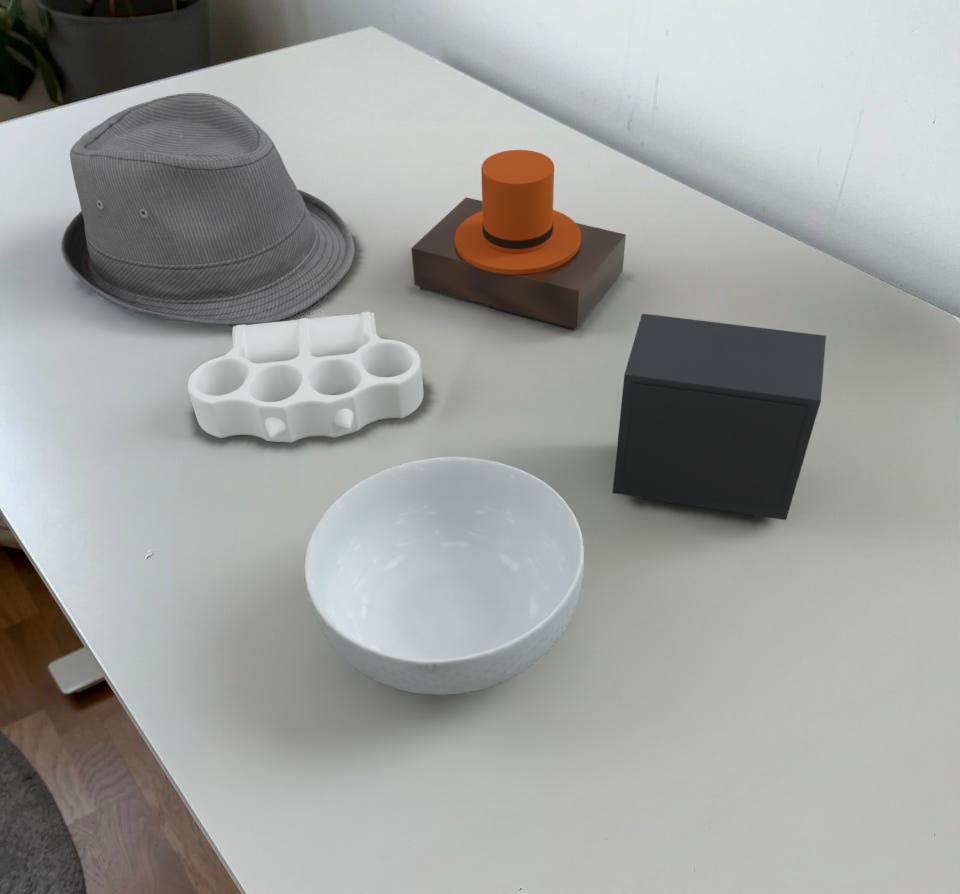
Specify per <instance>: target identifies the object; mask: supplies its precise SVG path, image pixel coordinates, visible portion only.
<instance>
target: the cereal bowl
mask: <svg viewBox="0 0 960 894" xmlns="http://www.w3.org/2000/svg"><path fill="white" fill-rule="evenodd" d="M584 545H585V544H584V537H583V533H582V530H581V527H580V524H579V522H578V519H577V518H576V515H575V513H574V512H573V511H572V509H571V507H570V505H569V504H568V503H567V502H566V501H565V499H564V498H563V497H562V496H561V495H560V494H559V492H557V490H555V489H554V488H553V487H551V485H549V484H547V483H546V482H545V481H543V480H542V479H540V478H538V477H537V476H535V475H532V474H531V473H529V472H527V471H526V470H523V469H520V468H517V467H514V466H512V465H510V464H505V463H502V462H498V461H495V460H494V461H493V460H489V459H483V458H476V457H475V458H474V457H466V456H440V457H432V458H425V459H419V460H413V461H409V462H405V463H402V464H398V465H395V466H392V467H389V468H386V469H384V470H381V471H379V472H377V473H375V474H372V475H370V476H368V477H366V478H364V479H363V480H361V481H360V482H358V483H356V484H355V485H353V486H352V487H350V488H349V489H348V490H346V491H345V492H343V494H341V495H340V496H339V497H338V498H337V499H336V500H335V501H334V502H333V503H332V504H331V505H330V506H329V507H328V508H327V509H326V510H325V512H324V513H323V514H322V516H321V517H320V518H319V520H318V521H317V523H316V524H315V526H314V528H313V530H312V533H311V535H310V536H309V540H308V543H307V546H306V550H305V555H304V563H303V574H304V575H303V577H304V584H305V590H306V594H307V597H308V599H309V600H308V601H309V604H310V606H311V608H312V611H313V615H314V617H315V619H316V621H317V624H318V626H319V627H320V629H321V631H322V632H323V634H324V636H325V637H326V639H327V640H328V642H329V644H330V645H331V646H332V647H333V648H334V650H336V652H338V655H340V657H342V658H343V659H344V660H345V661H346V662H347V663H348V664H349V665H351V666H353V668H355V670H357V671H358V672H360V673H362V674H364V675H365V676H366V677H368V678H371V679H372V680H374V681H376V682H378V683H379V684H384V685H386V686H388V687H391V688H393V689H397V690H402V691H404V692H410V693H415V694H423V695H438V696H440V695H444V696H445V695H446V696H448V695H451V694H452V695H457V694H465V693H472V692H475V691H480V690H483V689H487V688H491V687H494V686H495V685H498V684H502V683H504V682H506V681H508V680H510V679H512V678H513V677H516V676H518V675H519V674H521V673H523V672H524V671H526V670H527V669H529V668H530V667H532V665H534V664H536V663H537V662H538V661H539V660H540V659H541V658H543V657H544V656H545V655H546V654H548V652H549V651H550V650H551V649H552V648H553V647H554V646H555V644H556V643H557V642H558V640H559V639H561V637H562V636H563V634H564V632H565V630H567V628H568V626H569V624H570V621H571V619H572V618H573V616H574V614H575V611H576V609H577V606H578V602H579V599H580V597H581V589H582V586H583V580H584V579H583V578H584V575H585V569H584V567H585V546H584Z"/></svg>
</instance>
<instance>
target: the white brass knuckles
mask: <svg viewBox="0 0 960 894" xmlns="http://www.w3.org/2000/svg"><path fill="white" fill-rule="evenodd" d="M231 333H232V334H231V337H232V338H231V339H232V340H231V341H232V348H231V349H230V350H229V351H227V353H226V354H224V355H222V356H218V357H215V358H212V359H209V360H208V361H205V362H203V363H202V364H201V365H199V366H197V368H196V369H194V371H193V372H192V373H191V374H190V376H189V378H188V381H187V392H188V395H189V398H190V401H191V404H192V408H193V410H194V411H193V412H194V414H195V417H196V420H197V423H198V425H199V427H200V428H201V429H202V431H204V433H206V434H209V435H210V436H213V437H215V438H220V439H224V438H228V437H232V436H245V435H246V436H254V437H258V438H261V439H263V440H265V441H266V442H277V443H291V444H292V443H293V442H296V441H299V440H301V439H305V438H310V437H311V438H312V437H328V438H329V437H330V438H334V439H337V438H339V437H342V436H346V435H349V434H350V435H351V434H352V433H356V432H359V431H360V430H361V429H363V428H364V427H366V426H367V425H369V424H371V423H374V422H377V421H380V420H386V419H404V418H406V417H408V416H409V415H411V414H413V413H414V412H415V411H416V410H417V409H418V408H419V407H420V406H421V404H422V403H423V399H424V393H425V391H424V381H423V380H424V379H423V369H422V360H421V357H420V355H419V353H418V351H417V350H416V349H415V348H414V347H412V346H411V345H409V344H407V343H405V342H402V341H400V340H395V339H394V340H393V339H387V338H386V339H385V338H382V337H380V336H379V335H377V327H376V319H375V312H370V311H362V312H361V313H354V314H353V313H352V314H343V315H334V316H332V315H331V316H323V317H313V318H308V317H304V318H299V319H291V320H283V321H282V320H280V321H277V322H271V323H262V324H252V325H245V324H244V325H236V326H232V332H231Z"/></svg>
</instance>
